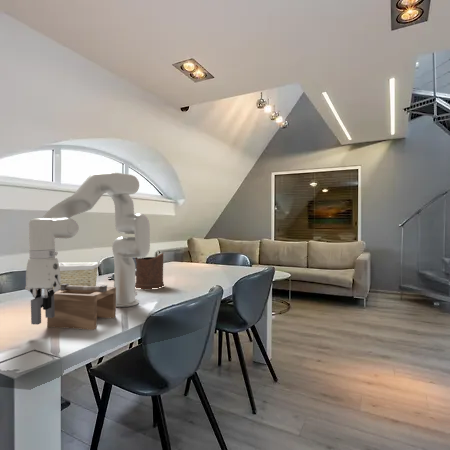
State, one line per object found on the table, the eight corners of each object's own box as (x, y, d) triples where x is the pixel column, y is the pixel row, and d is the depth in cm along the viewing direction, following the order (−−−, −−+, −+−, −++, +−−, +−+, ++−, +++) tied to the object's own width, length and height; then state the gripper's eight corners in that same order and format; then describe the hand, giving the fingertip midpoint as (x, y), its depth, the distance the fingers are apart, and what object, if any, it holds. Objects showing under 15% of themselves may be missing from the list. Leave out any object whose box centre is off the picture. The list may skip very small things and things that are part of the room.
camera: (114, 278, 216) (115, 272, 216) (121, 281, 209) (121, 274, 209) (107, 279, 213) (107, 273, 213) (114, 281, 205) (114, 275, 205)
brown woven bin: (161, 290, 179) (162, 246, 179) (119, 289, 180) (120, 246, 180) (167, 284, 198) (168, 244, 198) (130, 283, 198) (130, 244, 198)
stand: (74, 314, 129) (75, 280, 129) (115, 316, 126) (116, 282, 127) (47, 326, 113) (47, 288, 113) (93, 329, 111) (94, 290, 111)
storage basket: (45, 292, 169) (46, 265, 169) (55, 286, 185) (56, 262, 185) (92, 291, 174) (93, 265, 174) (98, 286, 190) (99, 261, 190)
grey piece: (48, 316, 111) (48, 293, 111) (54, 316, 111) (54, 294, 110) (31, 324, 103) (30, 300, 103) (37, 324, 103) (37, 300, 102)
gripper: (71, 253, 109) (71, 306, 109) (29, 253, 111) (30, 304, 112) (56, 256, 101) (57, 313, 102) (12, 255, 104) (13, 310, 104)
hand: (43, 308), depth 107 cm, fingers closed on grey piece, 2 cm apart
